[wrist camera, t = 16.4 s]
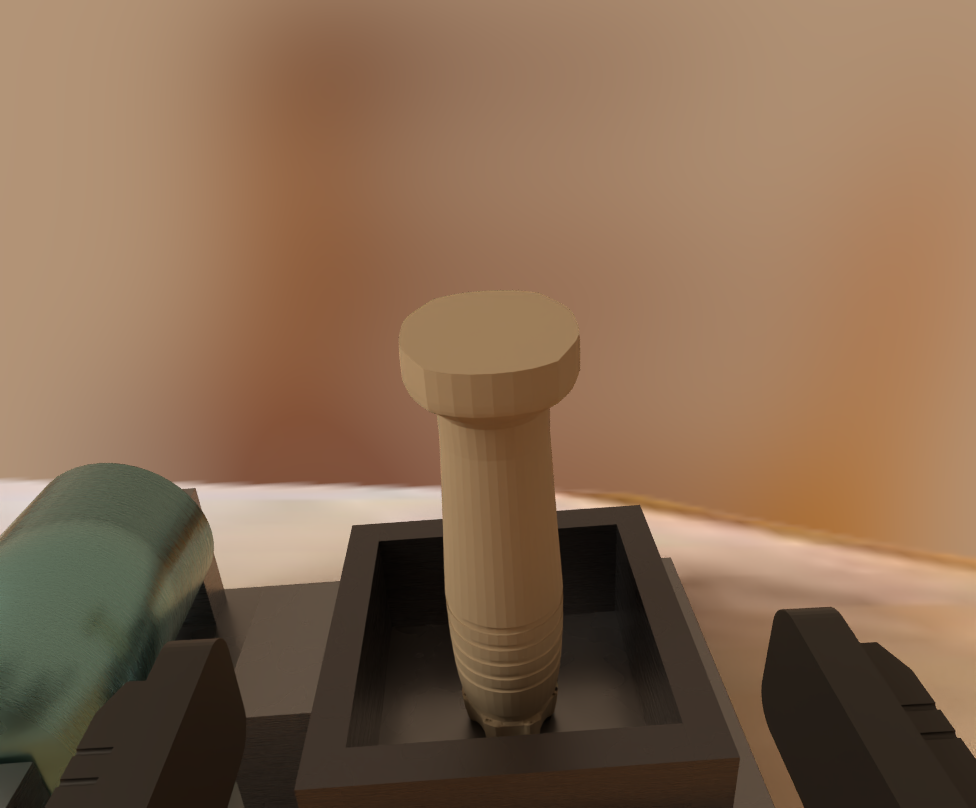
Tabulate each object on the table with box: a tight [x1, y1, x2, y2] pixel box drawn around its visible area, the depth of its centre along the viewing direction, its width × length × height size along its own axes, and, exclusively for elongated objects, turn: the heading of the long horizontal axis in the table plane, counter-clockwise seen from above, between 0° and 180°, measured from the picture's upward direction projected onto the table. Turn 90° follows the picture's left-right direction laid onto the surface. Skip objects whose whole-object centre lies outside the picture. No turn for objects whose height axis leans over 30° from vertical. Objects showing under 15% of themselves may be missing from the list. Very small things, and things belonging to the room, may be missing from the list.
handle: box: [399, 290, 580, 738], centre depth 23 cm, size 5×6×15 cm
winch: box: [0, 463, 775, 808], centre depth 25 cm, size 16×28×10 cm, turn 92°
